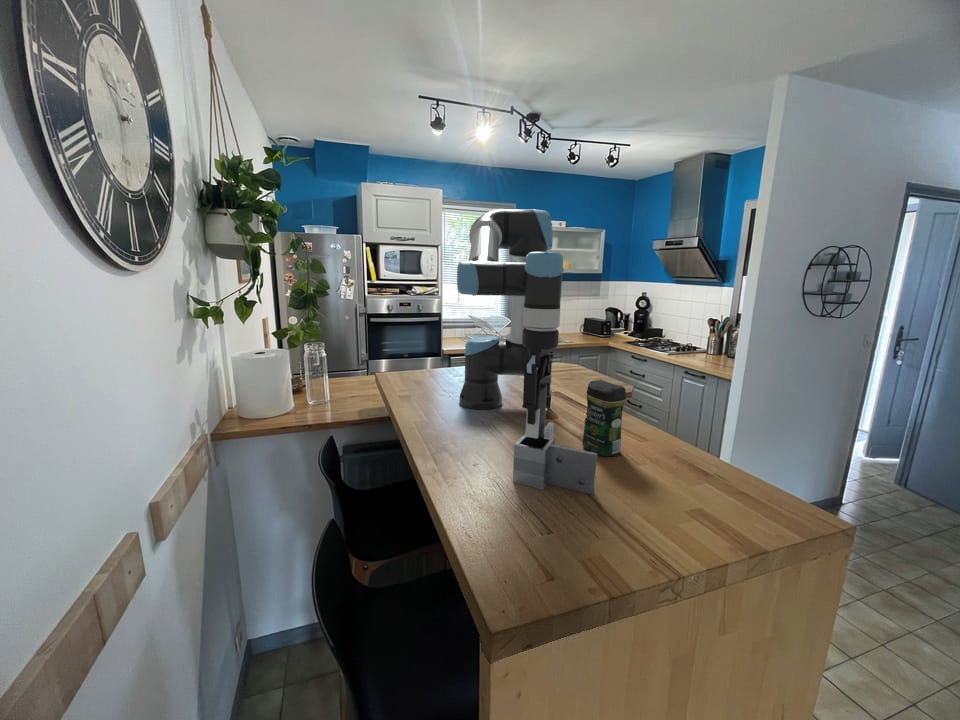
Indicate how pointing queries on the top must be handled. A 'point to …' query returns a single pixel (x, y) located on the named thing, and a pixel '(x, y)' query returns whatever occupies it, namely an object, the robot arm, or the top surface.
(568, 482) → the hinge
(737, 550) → the top surface
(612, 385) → the coffee jar
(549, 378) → the pin
